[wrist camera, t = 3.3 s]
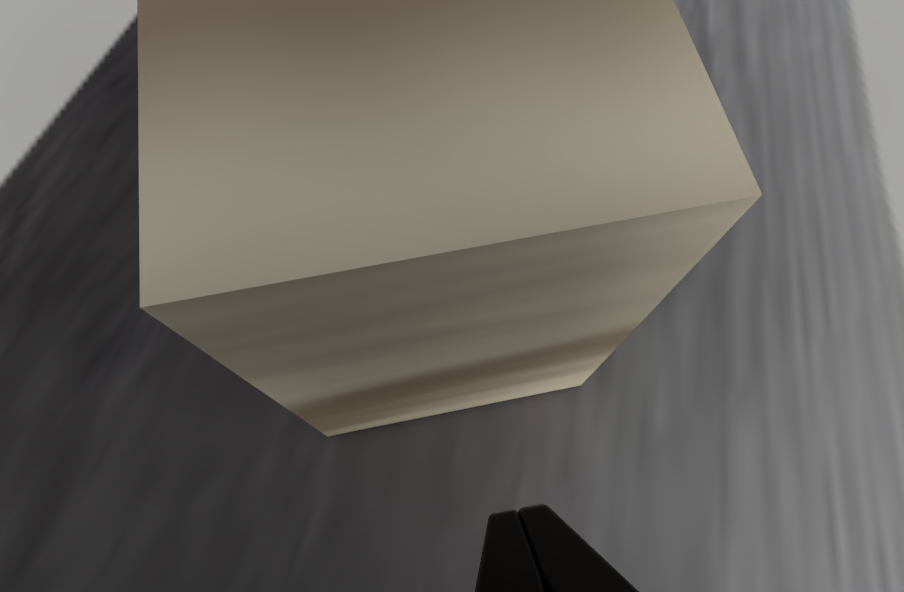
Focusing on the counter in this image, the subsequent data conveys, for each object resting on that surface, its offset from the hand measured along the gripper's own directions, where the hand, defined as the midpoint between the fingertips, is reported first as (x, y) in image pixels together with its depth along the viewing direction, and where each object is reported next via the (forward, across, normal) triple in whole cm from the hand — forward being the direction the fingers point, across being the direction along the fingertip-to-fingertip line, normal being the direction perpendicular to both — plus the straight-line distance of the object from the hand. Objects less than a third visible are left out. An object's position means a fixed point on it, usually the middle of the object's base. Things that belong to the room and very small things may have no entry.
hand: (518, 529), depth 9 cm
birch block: (+9, 0, +1) cm, 9 cm away
